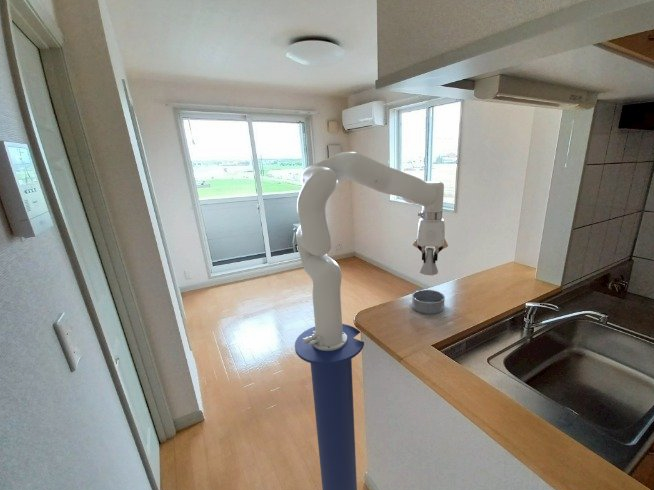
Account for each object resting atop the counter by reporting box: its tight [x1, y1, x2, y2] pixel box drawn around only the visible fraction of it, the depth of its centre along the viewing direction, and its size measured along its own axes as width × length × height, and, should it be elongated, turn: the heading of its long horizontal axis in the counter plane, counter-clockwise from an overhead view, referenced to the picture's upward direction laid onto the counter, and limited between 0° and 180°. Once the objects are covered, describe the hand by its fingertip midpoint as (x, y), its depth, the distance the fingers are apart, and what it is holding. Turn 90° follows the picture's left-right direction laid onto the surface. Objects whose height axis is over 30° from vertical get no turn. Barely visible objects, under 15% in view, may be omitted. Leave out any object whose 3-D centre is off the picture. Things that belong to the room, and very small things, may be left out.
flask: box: [419, 247, 439, 276], centre depth 123 cm, size 7×7×10 cm
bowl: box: [411, 289, 446, 315], centre depth 132 cm, size 13×13×5 cm
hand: (429, 261), depth 123 cm, fingers closed on flask, 3 cm apart
